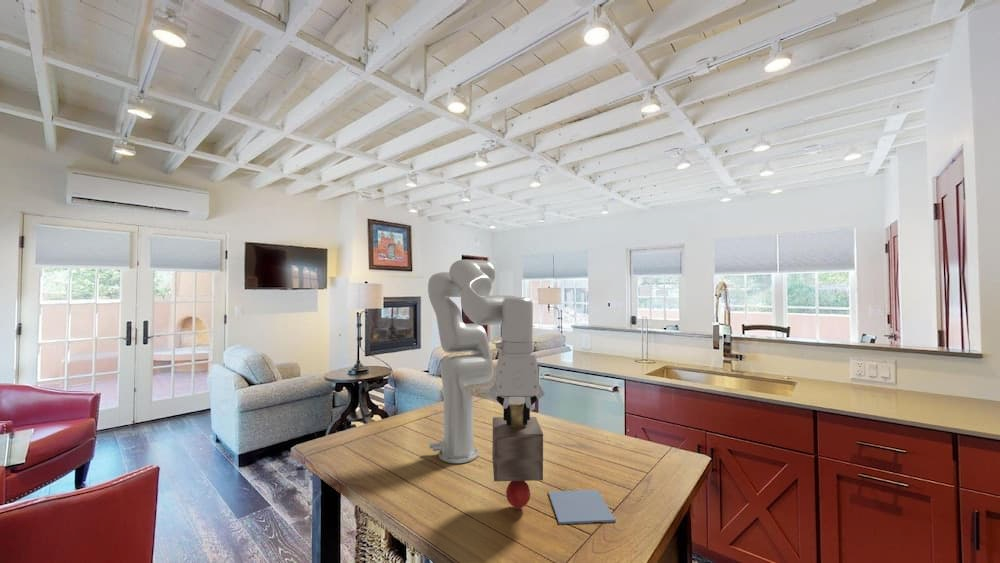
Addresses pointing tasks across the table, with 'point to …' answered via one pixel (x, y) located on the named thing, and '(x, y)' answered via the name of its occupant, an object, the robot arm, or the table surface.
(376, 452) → the table surface
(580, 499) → the mat
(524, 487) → the onion
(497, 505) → the table surface
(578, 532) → the table surface
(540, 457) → the cover
